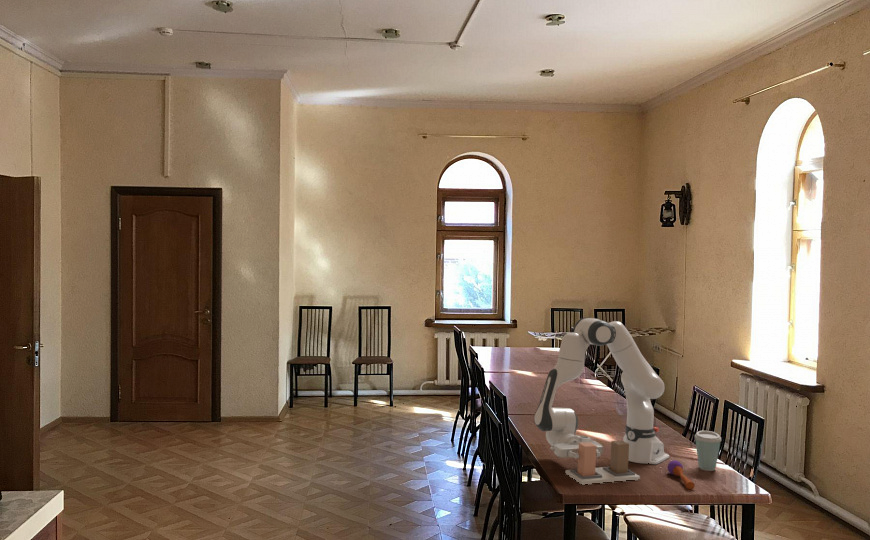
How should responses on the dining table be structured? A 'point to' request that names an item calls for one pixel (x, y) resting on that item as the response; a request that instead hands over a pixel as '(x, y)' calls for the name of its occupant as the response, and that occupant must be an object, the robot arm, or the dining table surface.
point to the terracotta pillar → (586, 459)
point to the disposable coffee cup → (707, 449)
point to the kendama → (679, 473)
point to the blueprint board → (612, 473)
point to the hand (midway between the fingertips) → (588, 455)
